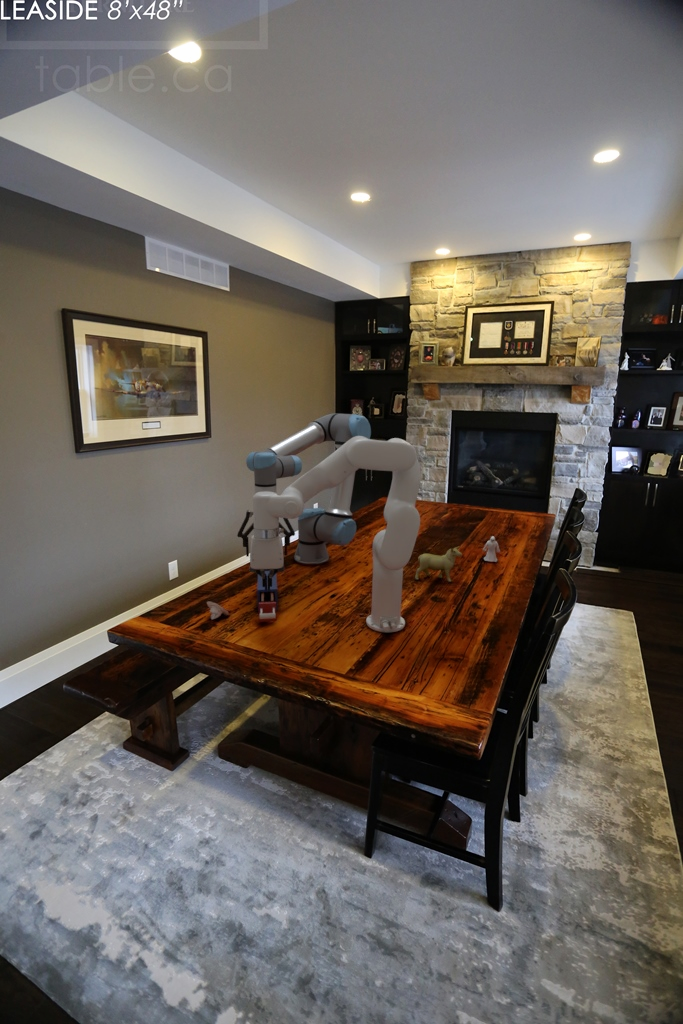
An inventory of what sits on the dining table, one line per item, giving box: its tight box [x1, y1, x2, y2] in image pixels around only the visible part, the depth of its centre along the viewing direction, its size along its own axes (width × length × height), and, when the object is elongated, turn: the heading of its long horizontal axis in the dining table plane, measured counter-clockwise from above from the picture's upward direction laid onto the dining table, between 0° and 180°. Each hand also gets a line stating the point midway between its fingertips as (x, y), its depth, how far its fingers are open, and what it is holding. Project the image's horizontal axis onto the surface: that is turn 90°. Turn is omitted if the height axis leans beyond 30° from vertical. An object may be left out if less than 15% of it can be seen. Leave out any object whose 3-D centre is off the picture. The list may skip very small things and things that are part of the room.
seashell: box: [206, 600, 230, 620], centre depth 164 cm, size 8×5×8 cm
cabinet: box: [256, 570, 279, 613], centre depth 177 cm, size 18×7×8 cm, turn 8°
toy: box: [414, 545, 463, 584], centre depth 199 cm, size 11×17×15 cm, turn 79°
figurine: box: [482, 535, 501, 563], centre depth 223 cm, size 8×8×12 cm
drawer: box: [258, 592, 277, 623], centre depth 165 cm, size 22×6×6 cm, turn 8°
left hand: (266, 554), depth 180 cm, fingers open, 13 cm apart
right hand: (267, 588), depth 156 cm, fingers closed
